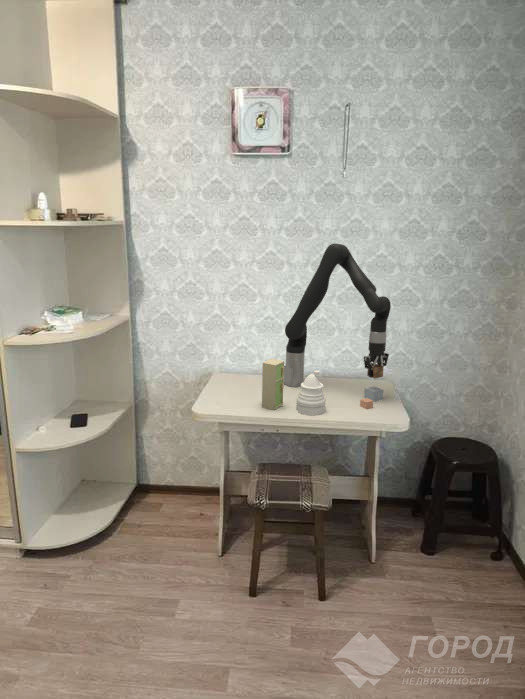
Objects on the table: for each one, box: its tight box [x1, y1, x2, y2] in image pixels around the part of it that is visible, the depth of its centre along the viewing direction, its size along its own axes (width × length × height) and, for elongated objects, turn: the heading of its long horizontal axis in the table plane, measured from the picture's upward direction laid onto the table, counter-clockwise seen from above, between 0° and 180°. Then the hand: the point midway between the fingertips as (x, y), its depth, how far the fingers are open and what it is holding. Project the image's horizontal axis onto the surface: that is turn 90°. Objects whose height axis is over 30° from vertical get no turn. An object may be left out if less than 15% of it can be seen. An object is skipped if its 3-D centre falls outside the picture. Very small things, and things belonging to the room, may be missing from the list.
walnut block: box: [366, 363, 385, 379], centre depth 244 cm, size 5×5×5 cm
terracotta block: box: [359, 398, 374, 410], centre depth 237 cm, size 4×4×4 cm
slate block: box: [363, 386, 384, 403], centre depth 247 cm, size 6×6×5 cm
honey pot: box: [295, 370, 327, 416], centre depth 232 cm, size 13×13×18 cm
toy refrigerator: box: [261, 358, 285, 411], centre depth 235 cm, size 8×7×21 cm
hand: (374, 376), depth 245 cm, fingers closed on walnut block, 5 cm apart
